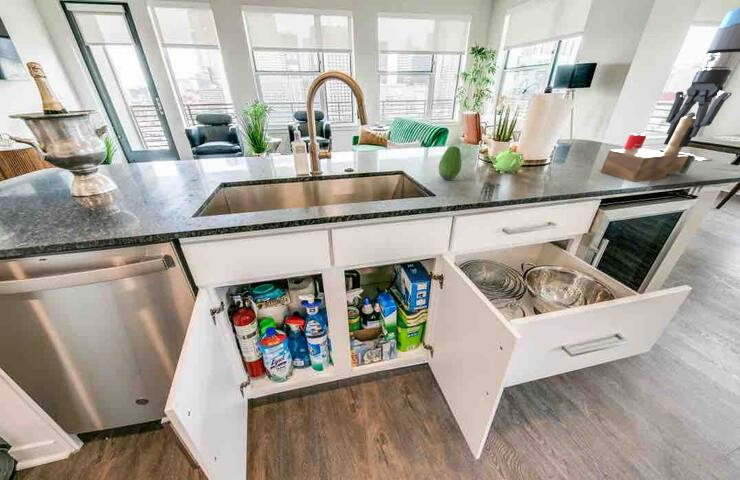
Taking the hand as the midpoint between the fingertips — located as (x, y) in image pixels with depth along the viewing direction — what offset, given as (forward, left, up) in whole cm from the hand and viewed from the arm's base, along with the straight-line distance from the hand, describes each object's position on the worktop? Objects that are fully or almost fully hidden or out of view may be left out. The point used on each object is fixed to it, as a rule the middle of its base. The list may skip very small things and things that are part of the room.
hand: (675, 145), depth 99 cm
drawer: (0, -3, -10) cm, 10 cm away
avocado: (+64, +51, -11) cm, 82 cm away
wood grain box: (+9, +8, -11) cm, 16 cm away
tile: (-16, -40, -11) cm, 44 cm away
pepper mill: (0, 0, -9) cm, 9 cm away
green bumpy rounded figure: (+50, +29, -11) cm, 59 cm away
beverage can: (+10, -13, -11) cm, 19 cm away
